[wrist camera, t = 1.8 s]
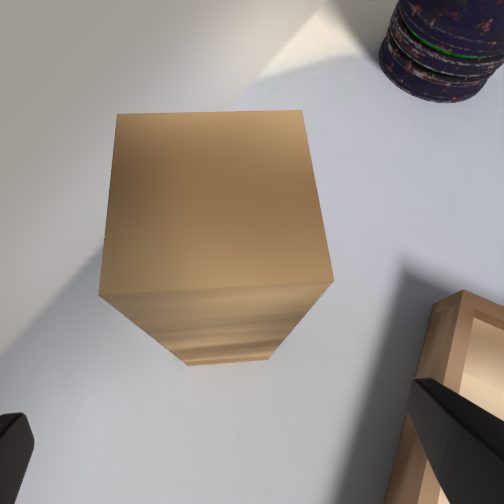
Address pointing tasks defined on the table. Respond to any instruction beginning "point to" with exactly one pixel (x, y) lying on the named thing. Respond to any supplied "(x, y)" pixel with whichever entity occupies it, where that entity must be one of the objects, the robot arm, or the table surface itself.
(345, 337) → the table surface
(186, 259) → the peg
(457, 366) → the socket box
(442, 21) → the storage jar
